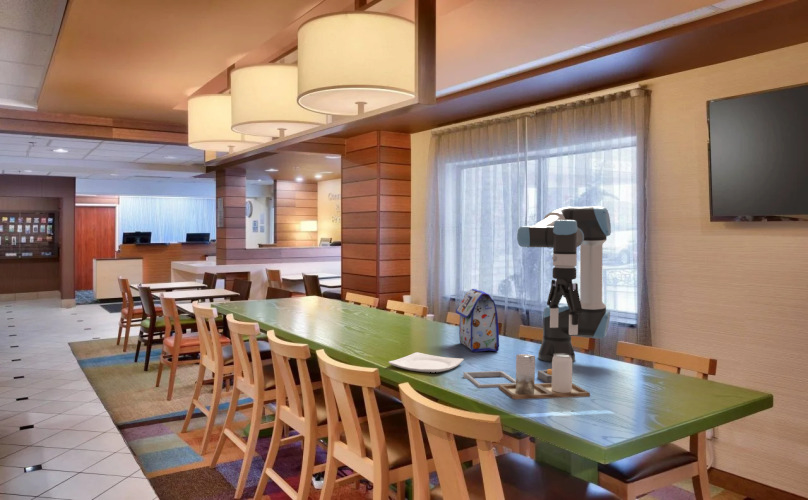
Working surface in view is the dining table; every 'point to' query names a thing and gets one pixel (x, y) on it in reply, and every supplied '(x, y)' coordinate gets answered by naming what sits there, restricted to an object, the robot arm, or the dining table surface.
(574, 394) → the divided wooden tray
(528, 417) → the dining table surface
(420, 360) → the plate
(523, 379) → the billet
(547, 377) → the grey square egg holder
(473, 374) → the grey rectangular frame
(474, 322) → the lunch bag
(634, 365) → the dining table surface
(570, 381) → the can
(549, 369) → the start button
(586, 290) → the robot arm
